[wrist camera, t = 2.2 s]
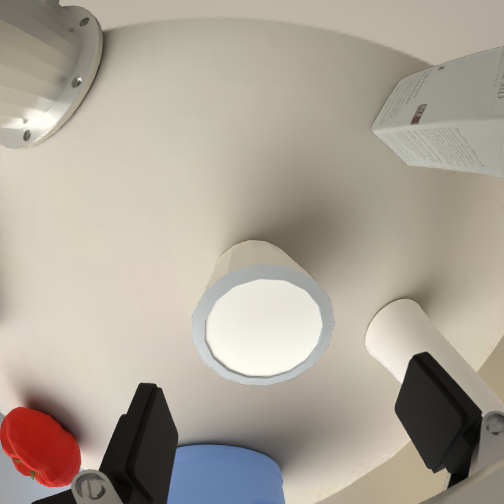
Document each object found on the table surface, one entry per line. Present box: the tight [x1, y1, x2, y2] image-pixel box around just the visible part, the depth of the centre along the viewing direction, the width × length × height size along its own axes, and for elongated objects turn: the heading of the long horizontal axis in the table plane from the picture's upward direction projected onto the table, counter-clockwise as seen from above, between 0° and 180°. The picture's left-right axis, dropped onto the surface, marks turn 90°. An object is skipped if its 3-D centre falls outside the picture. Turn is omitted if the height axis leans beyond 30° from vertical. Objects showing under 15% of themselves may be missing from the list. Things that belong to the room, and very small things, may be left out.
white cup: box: [192, 240, 335, 385], centre depth 16 cm, size 7×7×7 cm
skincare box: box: [371, 46, 504, 179], centre depth 11 cm, size 6×4×12 cm
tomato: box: [0, 407, 81, 487], centre depth 19 cm, size 11×12×9 cm
